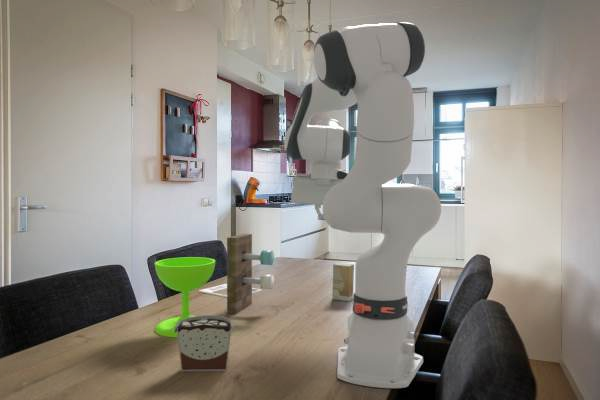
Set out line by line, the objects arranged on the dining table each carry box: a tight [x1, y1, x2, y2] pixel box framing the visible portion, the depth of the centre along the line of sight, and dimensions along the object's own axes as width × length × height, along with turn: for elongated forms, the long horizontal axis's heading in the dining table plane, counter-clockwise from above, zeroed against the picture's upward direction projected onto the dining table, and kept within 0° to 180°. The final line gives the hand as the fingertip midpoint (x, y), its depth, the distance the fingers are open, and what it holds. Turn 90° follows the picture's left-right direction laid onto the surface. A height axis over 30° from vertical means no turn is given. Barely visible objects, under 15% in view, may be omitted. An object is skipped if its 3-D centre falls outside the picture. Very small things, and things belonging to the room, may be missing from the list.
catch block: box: [226, 233, 253, 315], centre depth 138 cm, size 3×12×23 cm, turn 163°
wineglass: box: [154, 256, 216, 338], centre depth 119 cm, size 16×16×18 cm
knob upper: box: [242, 249, 275, 266], centre depth 136 cm, size 13×4×4 cm, turn 73°
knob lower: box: [242, 274, 275, 290], centre depth 137 cm, size 13×4×4 cm, turn 73°
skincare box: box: [331, 262, 355, 303], centre depth 150 cm, size 6×4×12 cm
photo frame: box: [198, 283, 263, 298], centre depth 161 cm, size 15×1×18 cm
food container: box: [174, 314, 235, 372], centre depth 93 cm, size 12×6×10 cm, turn 92°
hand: (323, 220), depth 131 cm, fingers closed
